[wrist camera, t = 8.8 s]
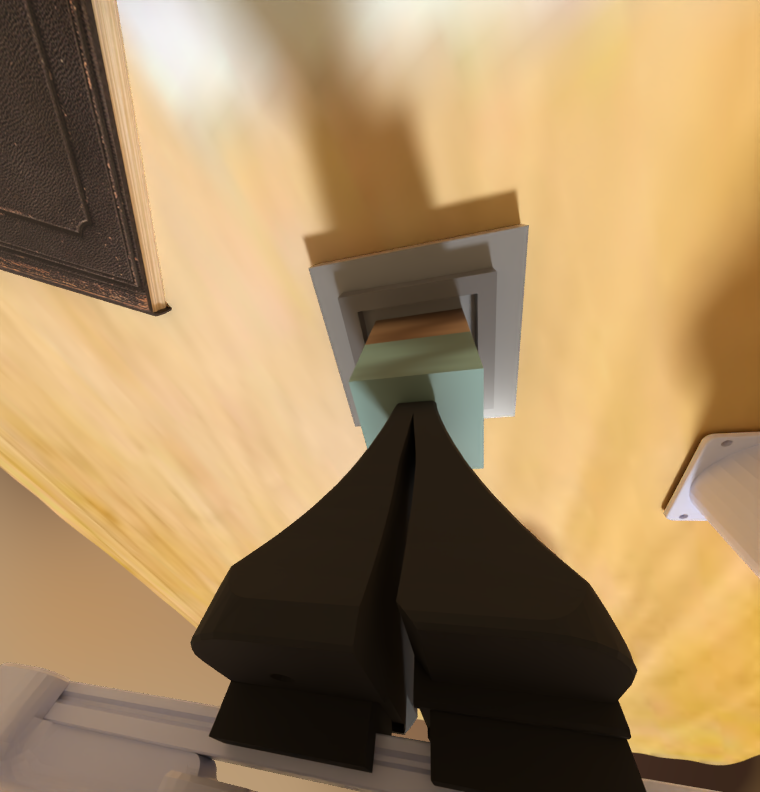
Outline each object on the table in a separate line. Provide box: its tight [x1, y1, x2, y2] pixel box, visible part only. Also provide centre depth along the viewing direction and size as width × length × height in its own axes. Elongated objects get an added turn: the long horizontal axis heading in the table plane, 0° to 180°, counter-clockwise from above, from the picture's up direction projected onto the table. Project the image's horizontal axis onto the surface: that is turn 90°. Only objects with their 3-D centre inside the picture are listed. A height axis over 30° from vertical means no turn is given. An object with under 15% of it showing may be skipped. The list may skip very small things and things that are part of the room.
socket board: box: [309, 224, 529, 427], centre depth 16 cm, size 10×10×2 cm
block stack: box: [349, 308, 484, 469], centre depth 13 cm, size 4×4×6 cm
